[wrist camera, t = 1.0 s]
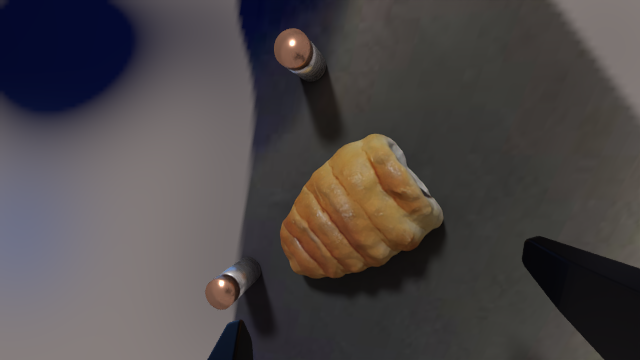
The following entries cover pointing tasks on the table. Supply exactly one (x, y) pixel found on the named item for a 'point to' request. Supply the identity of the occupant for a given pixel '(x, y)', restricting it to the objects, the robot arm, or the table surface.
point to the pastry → (358, 211)
